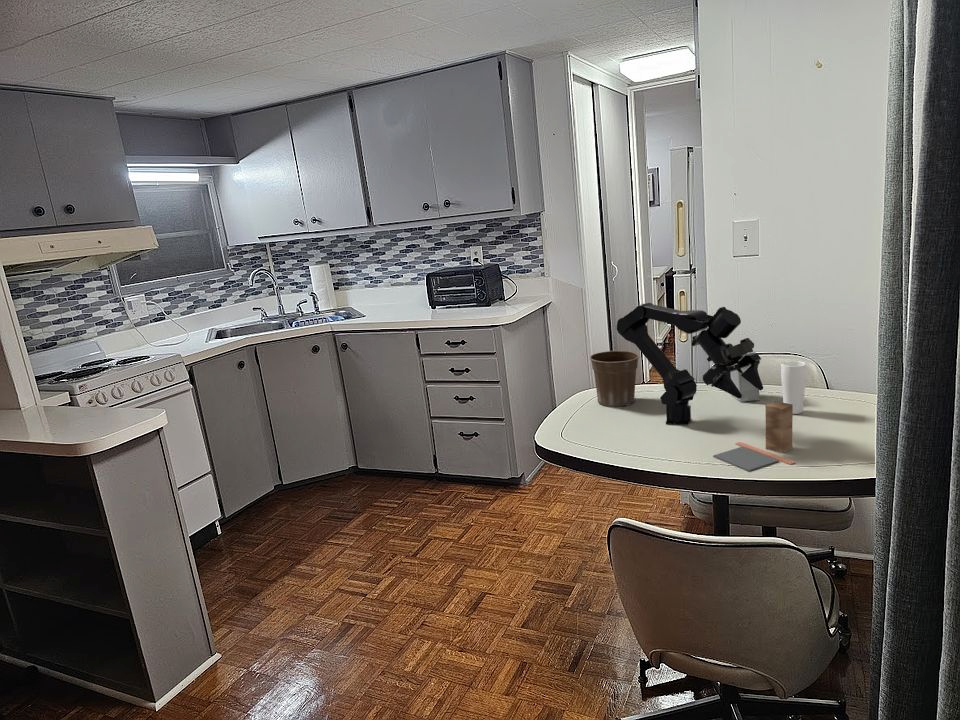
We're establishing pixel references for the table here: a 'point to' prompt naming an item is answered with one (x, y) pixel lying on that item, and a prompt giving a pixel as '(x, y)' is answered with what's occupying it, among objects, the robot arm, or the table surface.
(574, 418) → the table surface
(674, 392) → the robot arm
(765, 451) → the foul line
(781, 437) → the walnut block
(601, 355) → the plant pot
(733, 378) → the skincare box
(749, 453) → the mat
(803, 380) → the drinking glass
